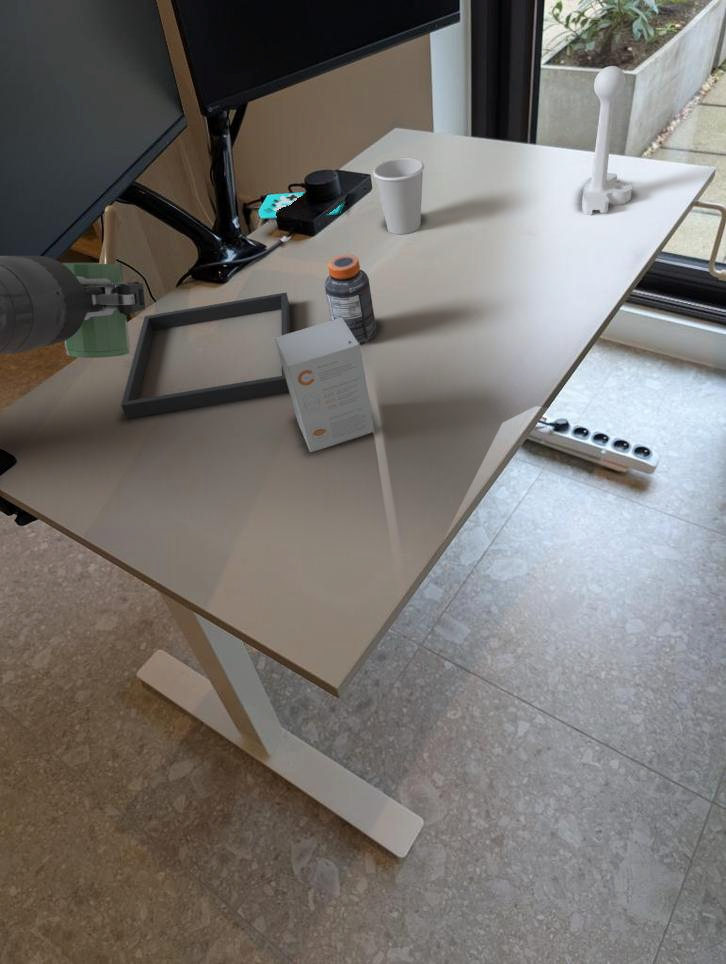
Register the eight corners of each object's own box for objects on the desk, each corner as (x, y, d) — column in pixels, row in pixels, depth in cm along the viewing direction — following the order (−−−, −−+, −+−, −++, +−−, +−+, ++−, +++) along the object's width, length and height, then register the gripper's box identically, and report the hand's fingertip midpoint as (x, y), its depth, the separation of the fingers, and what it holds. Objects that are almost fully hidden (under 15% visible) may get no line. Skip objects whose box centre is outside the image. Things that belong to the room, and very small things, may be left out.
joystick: (588, 185, 119) (601, 55, 105) (634, 186, 116) (653, 53, 102) (577, 214, 112) (589, 79, 98) (625, 216, 110) (645, 77, 95)
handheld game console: (269, 199, 133) (267, 192, 132) (348, 194, 130) (347, 187, 129) (255, 223, 127) (253, 216, 126) (339, 218, 123) (337, 211, 122)
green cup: (59, 358, 68) (46, 263, 65) (75, 349, 74) (64, 262, 71) (123, 357, 69) (113, 264, 66) (134, 349, 75) (126, 263, 72)
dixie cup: (395, 243, 114) (389, 182, 107) (371, 226, 119) (363, 168, 112) (437, 226, 116) (434, 166, 109) (411, 211, 121) (406, 153, 114)
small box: (359, 406, 85) (343, 315, 75) (376, 436, 80) (361, 344, 71) (297, 426, 84) (273, 336, 74) (310, 458, 79) (287, 366, 70)
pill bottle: (357, 318, 99) (345, 245, 91) (385, 332, 95) (375, 257, 87) (326, 337, 96) (311, 264, 88) (354, 352, 93) (341, 277, 85)
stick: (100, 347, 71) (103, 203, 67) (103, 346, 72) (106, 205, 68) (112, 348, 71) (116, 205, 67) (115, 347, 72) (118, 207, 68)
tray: (292, 396, 88) (287, 378, 86) (129, 423, 88) (120, 405, 86) (290, 309, 103) (286, 292, 101) (151, 333, 104) (144, 316, 102)
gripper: (99, 256, 54) (165, 255, 70) (-76, 254, 55) (29, 254, 71) (110, 351, 57) (171, 329, 73) (-59, 348, 57) (39, 327, 73)
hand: (100, 292), depth 72 cm, fingers closed on green cup, 6 cm apart
